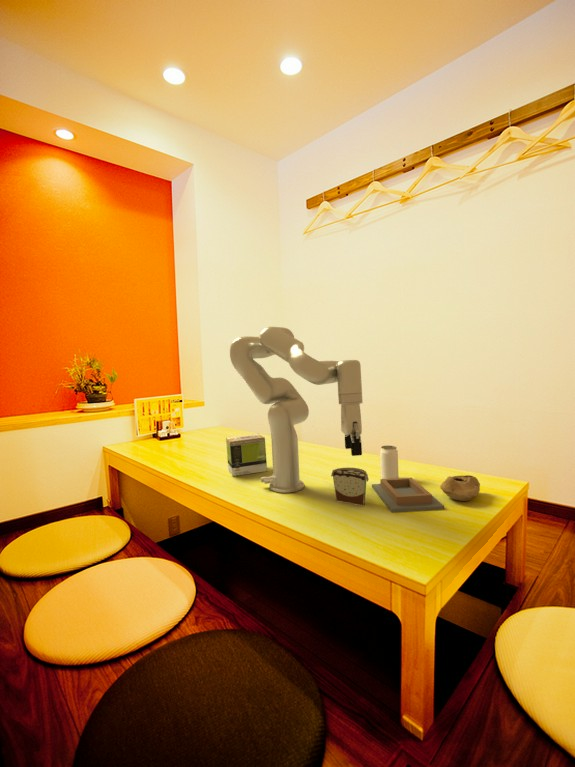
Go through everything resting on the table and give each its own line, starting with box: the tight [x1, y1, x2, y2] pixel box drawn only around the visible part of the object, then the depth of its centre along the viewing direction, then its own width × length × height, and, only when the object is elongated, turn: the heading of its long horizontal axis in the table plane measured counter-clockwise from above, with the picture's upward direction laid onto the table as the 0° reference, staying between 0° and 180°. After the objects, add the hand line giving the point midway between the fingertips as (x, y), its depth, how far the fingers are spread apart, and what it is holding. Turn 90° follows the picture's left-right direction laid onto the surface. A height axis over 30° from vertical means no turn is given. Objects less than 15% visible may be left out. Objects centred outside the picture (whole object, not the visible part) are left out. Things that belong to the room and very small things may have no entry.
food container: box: [330, 467, 369, 507], centre depth 121 cm, size 12×6×10 cm, turn 58°
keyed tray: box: [371, 477, 445, 513], centre depth 122 cm, size 16×22×4 cm
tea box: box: [225, 433, 268, 477], centre depth 158 cm, size 15×10×15 cm
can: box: [379, 445, 399, 479], centre depth 141 cm, size 6×6×12 cm
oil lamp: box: [439, 474, 481, 502], centre depth 120 cm, size 11×15×8 cm
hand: (353, 451), depth 120 cm, fingers open, 9 cm apart
